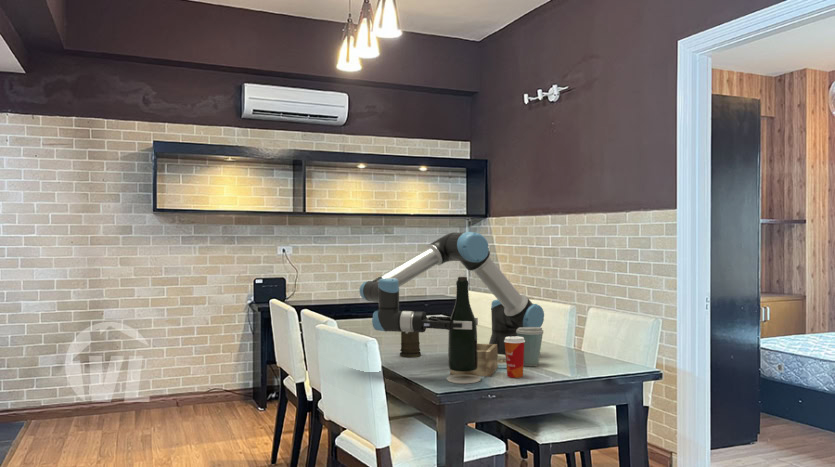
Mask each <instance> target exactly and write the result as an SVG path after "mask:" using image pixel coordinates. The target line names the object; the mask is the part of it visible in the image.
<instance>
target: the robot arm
mask: <svg viewBox="0 0 835 467" xmlns="http://www.w3.org/2000/svg"><path fill="white" fill-rule="evenodd" d="M448 262H460V263H461V264H462V265H463V267H465V268H466V270H467V271H470V272H473V273H475V275H476V276H477V277H478V278H479V279H480V280H481V282H482V283H483V284H484V286H486V288H487V289H488V290H489V291H490V292H491V293H492V295H493V296H494V297H495V298H496V299H494V300H492V301H491V307H490V310H491V312H490V313H491V316H490V317H491V336H490V339H489V342H488V344H497V353H498V354H499V355H506V353H505V342H504V340H505V337H511V336H514V337H515V336H517V332H516V330H517V329H518V328H520V327H540V328H542V326H543V324H544V321H545V318H544V317H545V311H544V309H543V308H542V305H540V304H537V303H533V302H532V301H531V300H530V299H529V298H528V296H527V295H525V294H521V293H520V292H519V291H518V289H516V287H514V285H513V284H512V283H511V281H510V280H509V279H508V278H507V277H506V275H505V274H504V272H502V270H500V268H499V267H498V265H497V264H496V262H494V260H493V259H492V258H491V251H490V248H489V242H488V240H487V239H486V237H485V236H484V235H483V234H481V233H478V232H474V231H467V232H465V231H464V232H463V231H461V232H449V233H447V234H445V235H443V236H441V237H440V238H438V239H436V240H434V241H432V242H431V243H430V244H427V246H426V248H425V249H424V250H422V251H421V252H419V253H417V254H415V255H414V256H412V257H411V258H409V259H407V260H406V261H404V262H402V263H400V264H398V265H397V266H395V267H394V268H392V269H390V270H388V271H387V272H386V273H384V274H382V275H380V276H377V277H376V278H375V279H373V280H368V281H364V282H363V283H362V284H361V285H360V287H359V290H358V291H359V295H360V297H361V298H362V299H363V300H364V301H368V302H372V303H373V302H374V303H378V309H377V310H375V311H374V312H373V314H372V319H371V322H372V327H373V329H374V330H376V331H381V332H395V333H396V332H397V333H398V332H400V333H401V332H405V331H406V333H408V332H413V331H414V332H419V333H425V332H426V330H427V329H437V330H448V331H449V329H450V331H453V329H471V330H472V321H453V322H452V321H450V318H451V316H435V315H433V316H432V315H431V316H428V317H427V313H426V312H425V311H419V310H418V311H413V310H412V311H411V310H402V311H401V310H400V287H401V286H404V285H405V284H407V283H408V282H410V281H412V280H414V279H415V278H416V277H418V276H420V275H421V274H423V273H425V272H427V271H428V270H430V269H432V268H433V267H435V266H438V267H439V266H442V265H443V264H445V263H448ZM475 320H476V326H479V321H478V320H479V318H478V317H475Z"/></svg>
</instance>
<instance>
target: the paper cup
mask: <svg viewBox="0 0 835 467" xmlns="http://www.w3.org/2000/svg"><path fill="white" fill-rule="evenodd" d="M504 342H505V353H506V354H505V364H506V366H505V367H506V374H507V375H506V376H507V377H508V378H514V379H520V378H523V377H524V365H523V363H524V342H525V340H524V338H523V337H519V336H515V337H514V336H511V337H505V340H504Z"/></svg>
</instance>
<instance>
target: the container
mask: <svg viewBox="0 0 835 467" xmlns="http://www.w3.org/2000/svg"><path fill="white" fill-rule="evenodd" d="M400 338H401V340H400V341H401V342H400V349H399V351H400V353H399V355H400V357H402V358H418V357H420V356H422V355H421V354H422V353H421V348H420V332H414V331H413V332H408V333H406V331H405V332H400Z"/></svg>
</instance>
